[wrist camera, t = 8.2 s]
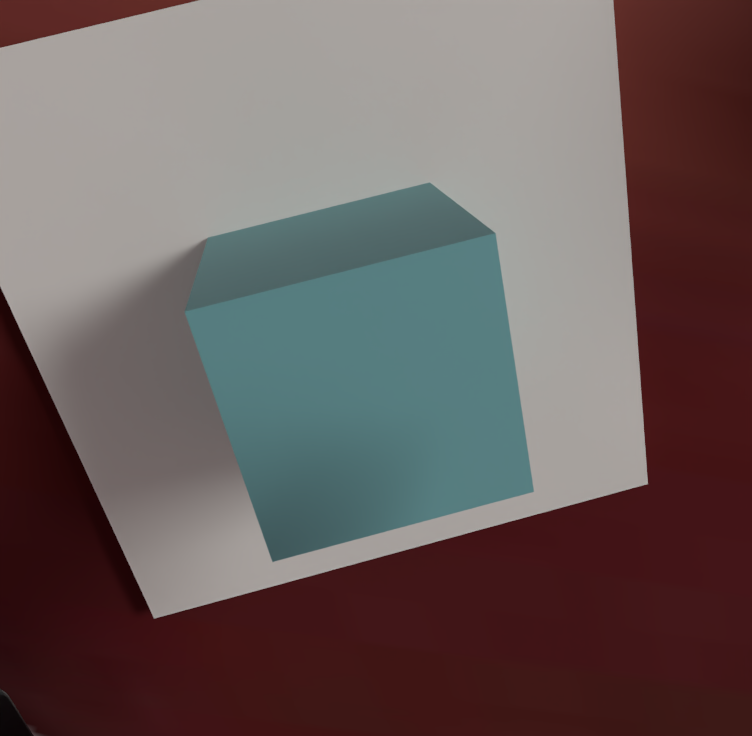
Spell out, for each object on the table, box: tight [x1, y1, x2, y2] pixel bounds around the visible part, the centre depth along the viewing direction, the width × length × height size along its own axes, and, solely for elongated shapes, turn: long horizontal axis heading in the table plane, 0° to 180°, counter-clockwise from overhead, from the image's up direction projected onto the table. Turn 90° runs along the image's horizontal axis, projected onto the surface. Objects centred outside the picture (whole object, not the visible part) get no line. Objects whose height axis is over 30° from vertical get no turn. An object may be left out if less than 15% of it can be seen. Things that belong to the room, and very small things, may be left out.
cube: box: [185, 182, 534, 562], centre depth 15 cm, size 5×5×5 cm
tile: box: [0, 0, 648, 618], centre depth 17 cm, size 14×14×1 cm
